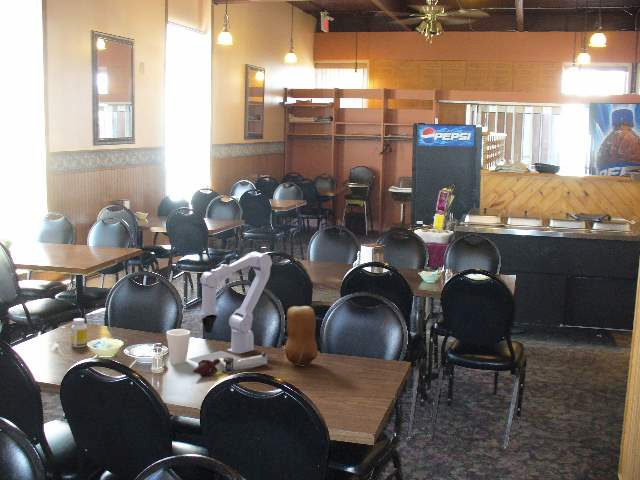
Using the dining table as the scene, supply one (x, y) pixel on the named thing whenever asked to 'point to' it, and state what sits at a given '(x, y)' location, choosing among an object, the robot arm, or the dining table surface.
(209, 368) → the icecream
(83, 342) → the pill bottle
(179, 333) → the foam cup
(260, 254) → the robot arm
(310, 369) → the dining table surface
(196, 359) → the board
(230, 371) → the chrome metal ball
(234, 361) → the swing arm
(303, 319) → the butternut squash
